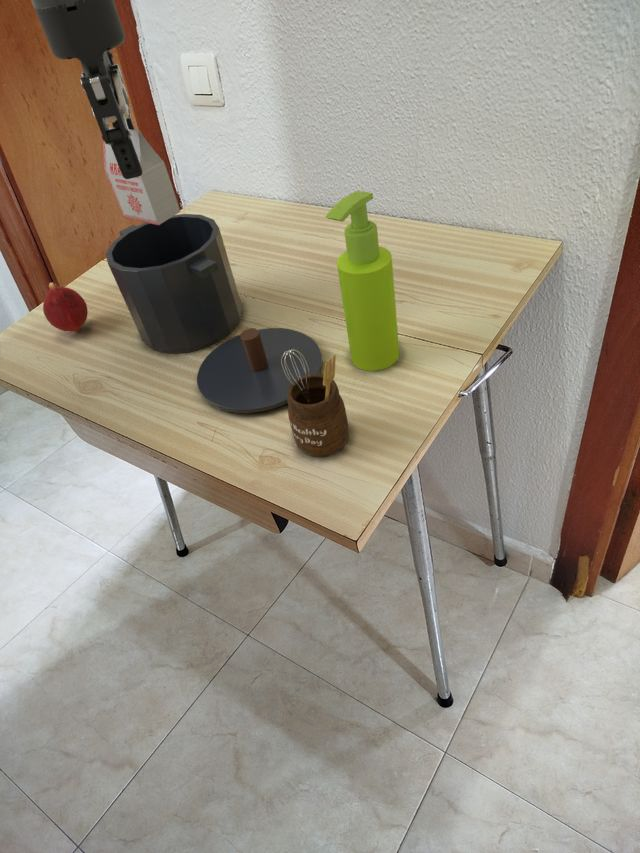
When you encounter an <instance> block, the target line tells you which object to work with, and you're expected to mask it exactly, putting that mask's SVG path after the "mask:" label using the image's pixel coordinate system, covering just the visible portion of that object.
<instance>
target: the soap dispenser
mask: <svg viewBox="0 0 640 853" xmlns="http://www.w3.org/2000/svg"><path fill="white" fill-rule="evenodd" d="M373 194H374V193H373V192H370V191H369V192H368V191H363V190H355V191H354V192H352V193H349V194H348V195H346V196H345V197H343V198H341V200H339V201H338V202H336V203H335V205H334V206H332V208H331V209H330V210H329V211H328V212H327V214H326V215H325V218H326V219H328V220H333V221H336V222H337V221H338V222H344V221H346V219H348V217H349V216H350V223H349V224H348V225H346V226H345V228H344V239H345V246H346V248H345V249H346V251H344V252H343V253H341V254H340V255H339V257H338V258H337V260H336V267H337V274H338V281H339V287H340V293H341V299H342V307H343V314H344V320H345V325H346V333H347V334H346V335H347V340H348V347H349V353H350V359H351V360H350V361H351V362H352V364H353V365H354V366H355V367H356V368H358V369H360V370H363V371H368V372H376V371H377V372H378V371H381V370H386V369H387V368H390V367H392V366H394V364H395V363H396V362H397V361H398V360H399V357H400V345H399V344H400V343H399V331H398V330H399V329H398V318H397V306H396V294H395V293H396V292H395V280H394V279H395V278H394V269H393V268H394V267H393V255H392V252H391V251H390V250H389V249H388V248H385V247H383V246H380V244H379V235H378V226H377V224H376V223H375V222H373V221H372V220H369V218H368V207H367V203H368V202H370V201H372V200H373V199H374V195H373Z"/></svg>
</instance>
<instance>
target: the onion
mask: <svg viewBox="0 0 640 853" xmlns="http://www.w3.org/2000/svg"><path fill="white" fill-rule="evenodd" d="M48 287H49V290H48V292H47V294H46V295H45V297H44V300H43V304H42V310H43V315H44V317H45V319H46V320H47V321H48V323H49V324H50V325H51V326H53V327H54V328H55V329H58V330H60V331H63V332H69V333H71V332H72V333H76V332H79V331H80V329H82V327H83V326H84V324H85V322H86V321H87V319H88V310H89V309H88V306H87V302H86V300H85V299H84V298H83V296H82V295H80V294H79V293H78V292H77V291H75V290H74V289H73V288H72V289H71V288H69V287H66V286H58V285H57V284H56V283H55V282H49V284H48Z"/></svg>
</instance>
